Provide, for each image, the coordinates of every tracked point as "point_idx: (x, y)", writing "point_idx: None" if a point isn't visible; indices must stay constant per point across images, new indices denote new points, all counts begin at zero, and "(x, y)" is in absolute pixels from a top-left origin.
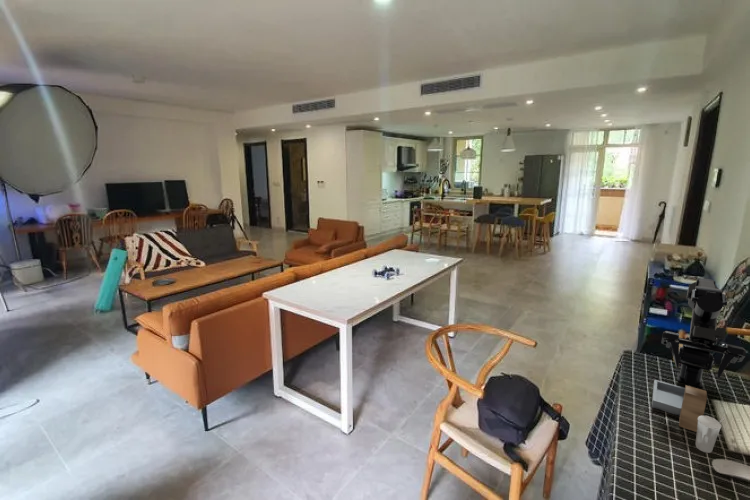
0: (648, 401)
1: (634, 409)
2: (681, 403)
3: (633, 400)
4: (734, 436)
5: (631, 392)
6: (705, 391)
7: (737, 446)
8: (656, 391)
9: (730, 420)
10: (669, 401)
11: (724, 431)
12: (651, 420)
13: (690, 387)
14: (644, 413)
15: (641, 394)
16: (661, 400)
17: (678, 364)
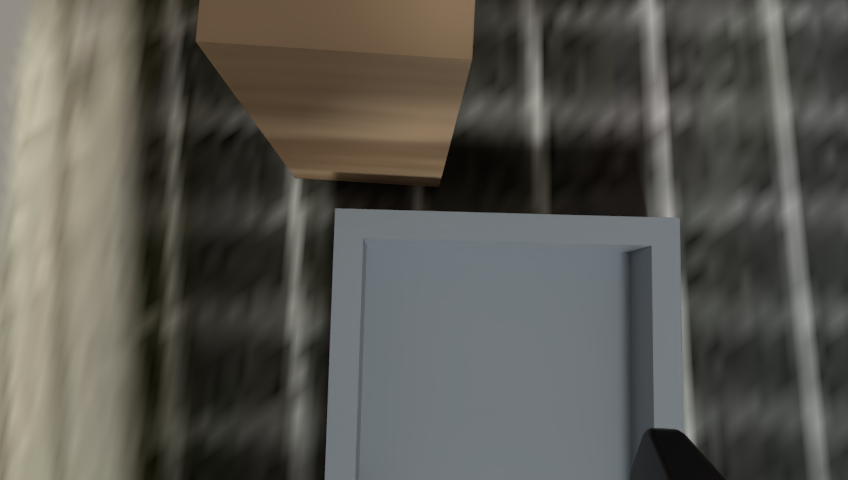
0: None
1: (774, 97)
2: (414, 448)
3: (798, 256)
4: (58, 158)
5: (830, 409)
6: (211, 10)
7: (65, 18)
8: None
9: (37, 427)
10: (515, 415)
11: (119, 191)
12: (641, 4)
13: (409, 20)
14: (696, 82)
15: (745, 429)
16: (582, 388)
17: (671, 462)
